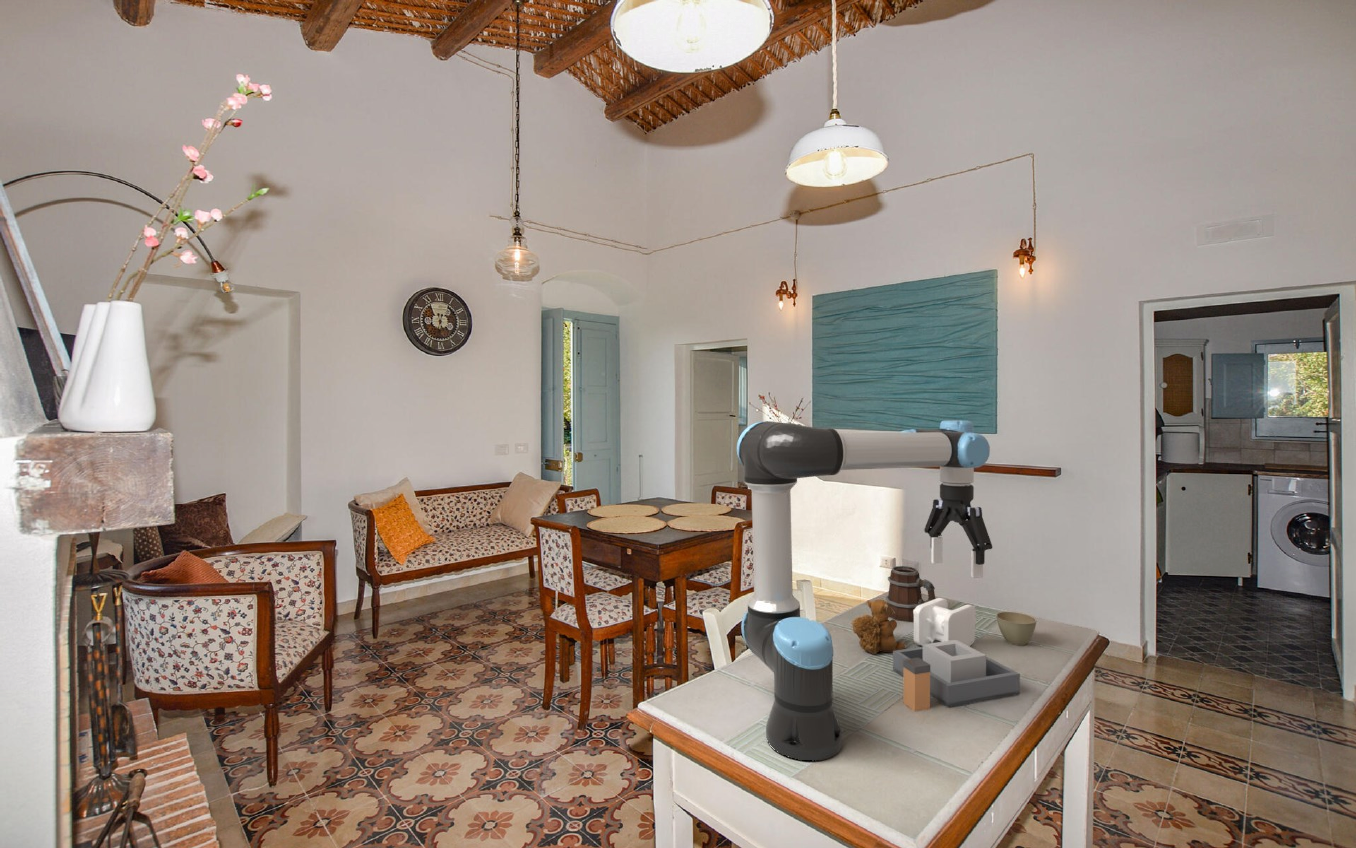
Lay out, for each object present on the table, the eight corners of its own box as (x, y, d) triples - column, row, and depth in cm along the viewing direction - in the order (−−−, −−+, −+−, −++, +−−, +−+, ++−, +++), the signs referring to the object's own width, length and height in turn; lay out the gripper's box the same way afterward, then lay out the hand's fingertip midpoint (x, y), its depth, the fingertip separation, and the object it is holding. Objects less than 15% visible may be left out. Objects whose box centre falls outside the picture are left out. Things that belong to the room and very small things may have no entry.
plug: (914, 711, 135) (914, 667, 135) (903, 702, 139) (903, 659, 139) (930, 708, 137) (930, 664, 136) (918, 700, 140) (918, 657, 140)
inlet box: (948, 708, 137) (948, 672, 136) (893, 670, 156) (893, 639, 156) (1019, 694, 142) (1020, 661, 142) (958, 660, 161) (958, 630, 161)
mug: (879, 616, 195) (879, 569, 194) (896, 606, 204) (896, 562, 203) (928, 628, 184) (928, 579, 183) (943, 618, 192) (944, 571, 192)
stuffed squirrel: (907, 648, 169) (908, 602, 169) (875, 661, 161) (875, 612, 161) (878, 637, 178) (878, 592, 177) (845, 649, 170) (845, 602, 169)
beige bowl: (1036, 639, 174) (1037, 615, 174) (1035, 652, 166) (1035, 626, 166) (997, 632, 180) (997, 608, 180) (994, 644, 171) (994, 619, 171)
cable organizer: (947, 659, 162) (947, 616, 162) (911, 646, 171) (911, 605, 170) (976, 645, 171) (976, 604, 171) (940, 634, 180) (940, 595, 179)
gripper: (1010, 489, 138) (1009, 582, 138) (934, 476, 162) (934, 556, 162) (983, 491, 136) (982, 585, 136) (910, 478, 159) (910, 558, 160)
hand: (955, 569), depth 149 cm, fingers open, 13 cm apart
